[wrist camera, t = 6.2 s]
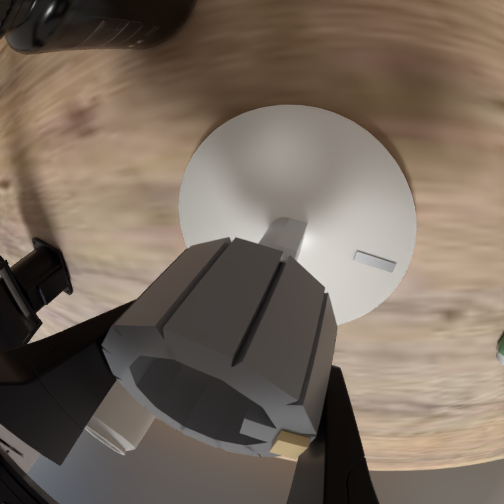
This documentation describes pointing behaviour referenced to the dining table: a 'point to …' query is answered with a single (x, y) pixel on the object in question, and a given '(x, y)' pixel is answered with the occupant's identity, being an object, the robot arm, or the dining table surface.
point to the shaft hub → (306, 199)
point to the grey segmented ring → (230, 348)
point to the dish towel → (500, 351)
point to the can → (120, 420)
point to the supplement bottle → (89, 23)
